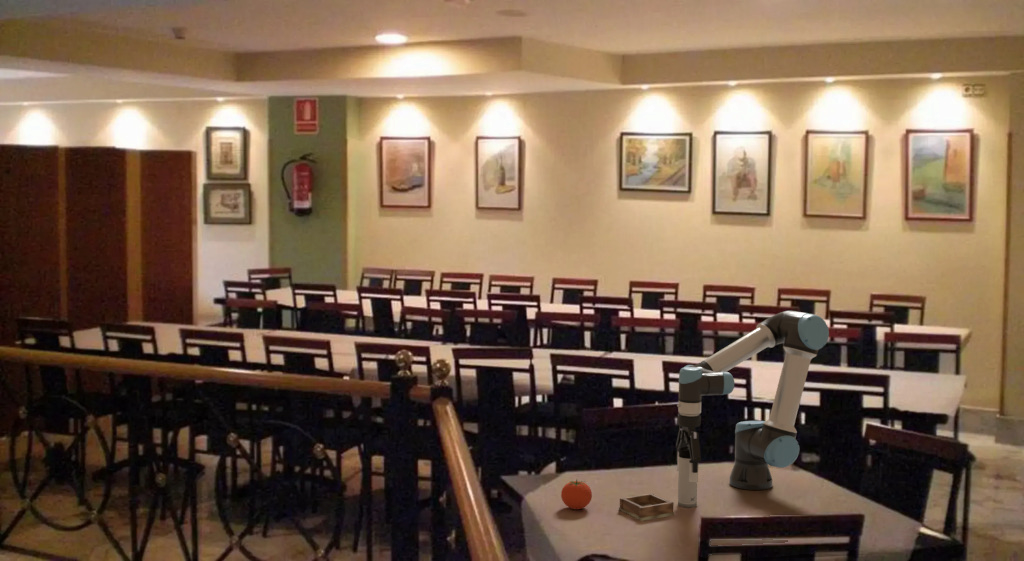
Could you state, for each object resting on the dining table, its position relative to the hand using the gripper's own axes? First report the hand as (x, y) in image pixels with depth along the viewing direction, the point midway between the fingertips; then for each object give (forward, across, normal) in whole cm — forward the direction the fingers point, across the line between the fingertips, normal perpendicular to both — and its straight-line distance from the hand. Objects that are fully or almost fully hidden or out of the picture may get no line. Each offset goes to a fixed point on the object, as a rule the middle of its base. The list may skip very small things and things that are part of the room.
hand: (687, 476), depth 350 cm
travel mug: (+10, 0, 0) cm, 10 cm away
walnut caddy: (+10, +6, -16) cm, 19 cm away
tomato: (+11, -1, -38) cm, 39 cm away
